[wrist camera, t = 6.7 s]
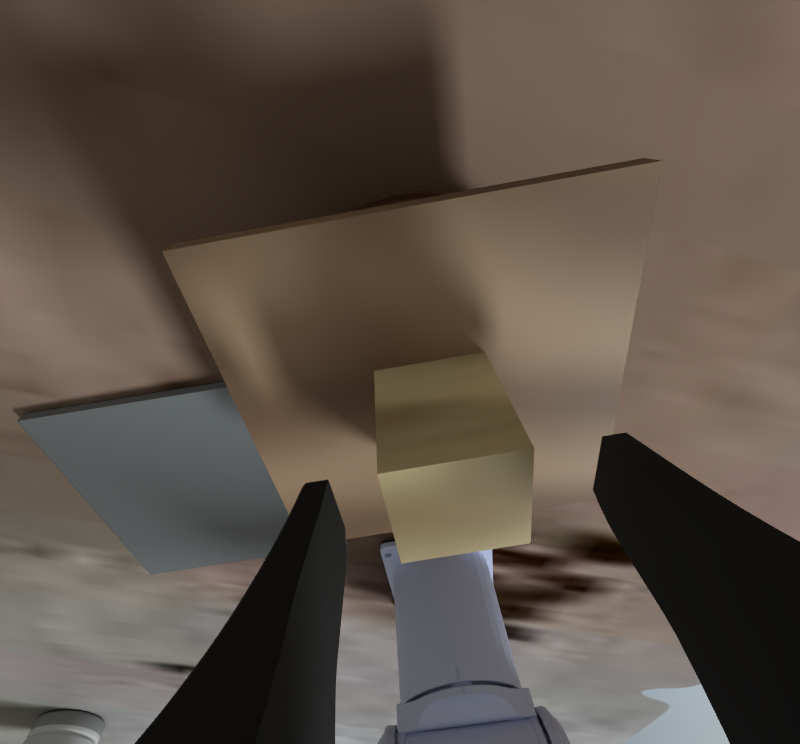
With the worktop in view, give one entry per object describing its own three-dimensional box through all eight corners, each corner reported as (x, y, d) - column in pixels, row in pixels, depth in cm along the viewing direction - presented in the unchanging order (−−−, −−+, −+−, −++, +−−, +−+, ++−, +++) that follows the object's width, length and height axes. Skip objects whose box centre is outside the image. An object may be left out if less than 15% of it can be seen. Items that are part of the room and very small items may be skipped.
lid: (591, 483, 18) (666, 603, 13) (306, 530, 18) (287, 662, 14) (644, 158, 11) (838, 184, 6) (174, 243, 11) (45, 324, 7)
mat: (348, 536, 28) (348, 544, 27) (154, 566, 28) (150, 574, 28) (290, 371, 20) (288, 377, 20) (25, 413, 21) (16, 421, 20)
